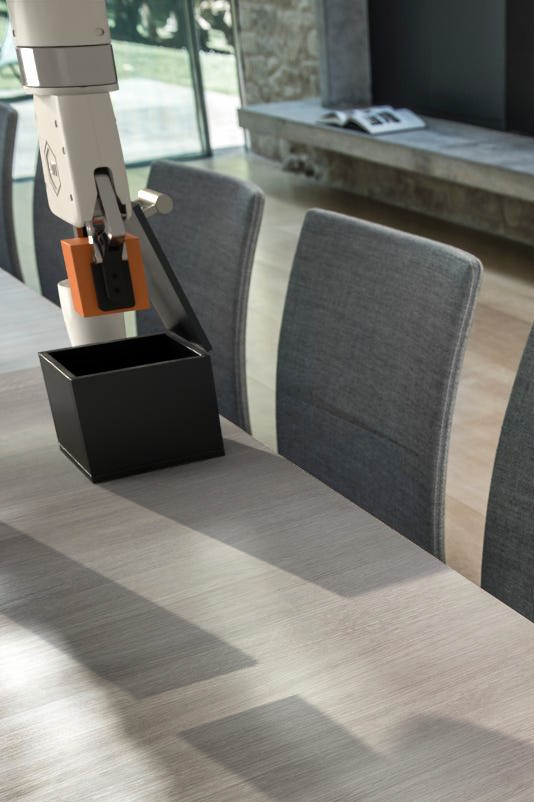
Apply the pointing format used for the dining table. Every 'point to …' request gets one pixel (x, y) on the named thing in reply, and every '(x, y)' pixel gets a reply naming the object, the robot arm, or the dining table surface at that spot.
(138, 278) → the orange block
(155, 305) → the bin lid
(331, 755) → the dining table surface
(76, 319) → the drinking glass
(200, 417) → the bin
